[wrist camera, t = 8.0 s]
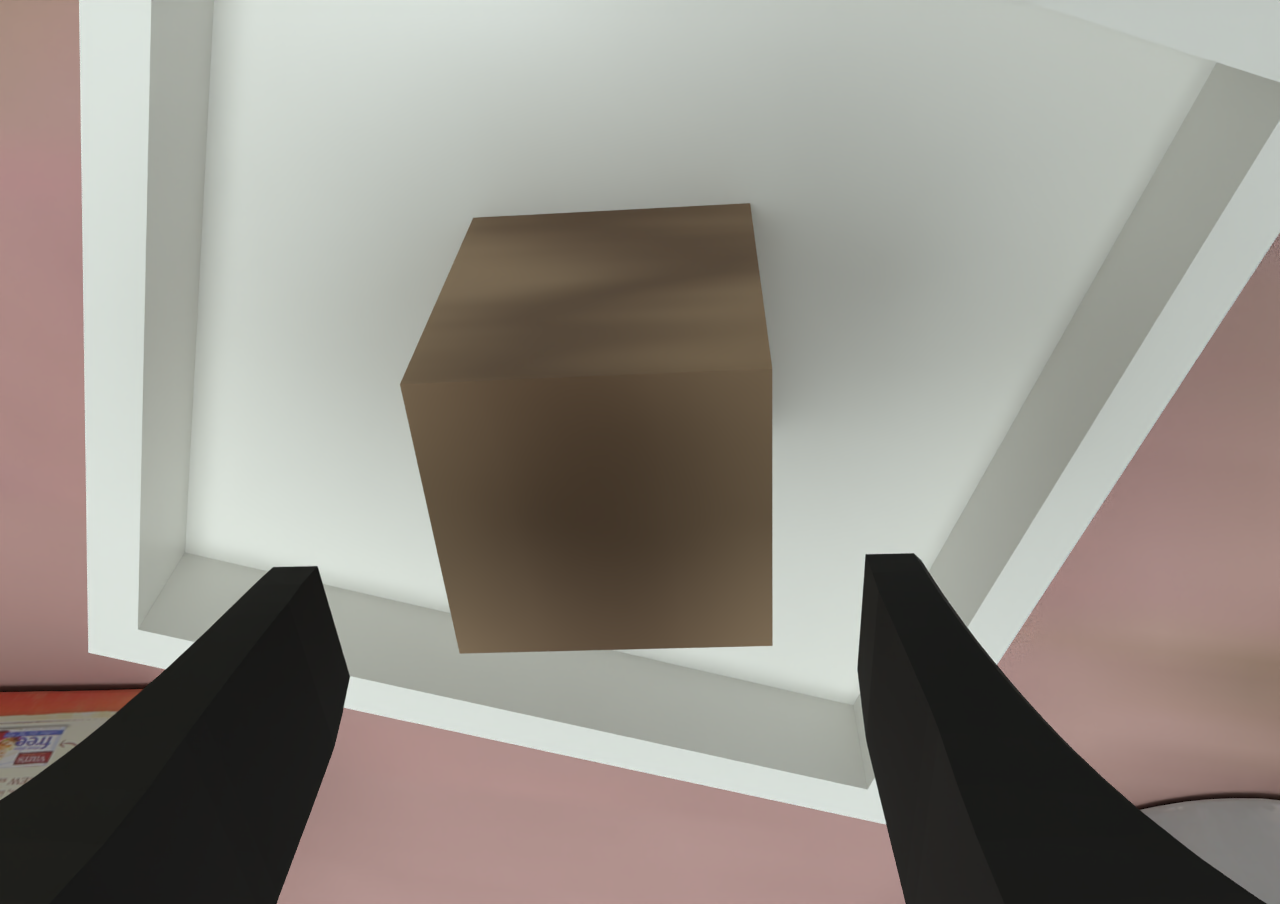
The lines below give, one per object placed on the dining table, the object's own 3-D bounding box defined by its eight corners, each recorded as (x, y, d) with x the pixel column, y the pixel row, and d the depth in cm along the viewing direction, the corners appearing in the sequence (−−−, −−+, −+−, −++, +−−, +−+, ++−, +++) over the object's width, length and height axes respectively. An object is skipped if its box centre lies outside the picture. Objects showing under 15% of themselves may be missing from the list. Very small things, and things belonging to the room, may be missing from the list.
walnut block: (750, 203, 19) (772, 369, 14) (753, 438, 22) (772, 646, 17) (473, 217, 19) (399, 383, 15) (510, 447, 22) (460, 653, 17)
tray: (1303, -6, 17) (1406, 38, 15) (872, 725, 27) (891, 825, 25) (173, -381, 15) (72, -403, 13) (147, 560, 25) (88, 653, 22)
